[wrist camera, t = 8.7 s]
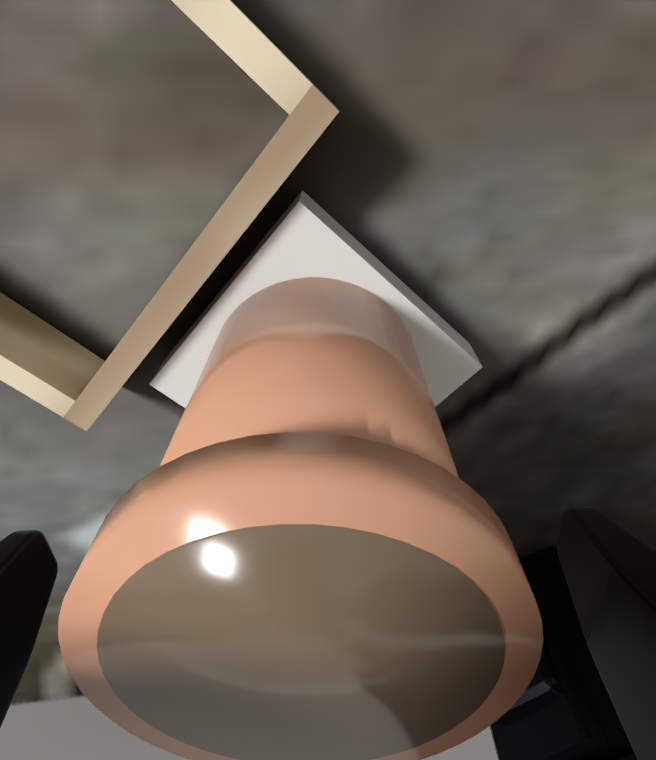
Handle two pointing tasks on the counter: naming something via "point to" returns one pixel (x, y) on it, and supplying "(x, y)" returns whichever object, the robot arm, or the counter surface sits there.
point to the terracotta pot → (304, 557)
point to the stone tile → (327, 260)
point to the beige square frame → (279, 158)
